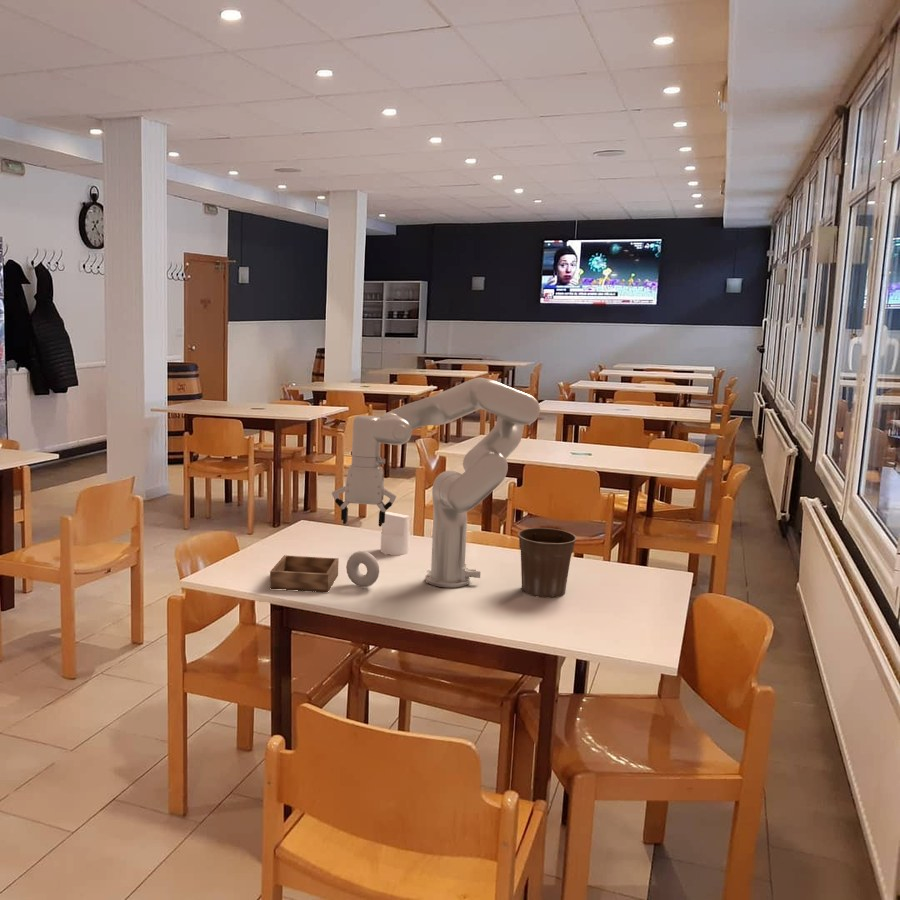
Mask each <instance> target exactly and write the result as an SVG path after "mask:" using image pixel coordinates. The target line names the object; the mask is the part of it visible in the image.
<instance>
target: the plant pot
mask: <svg viewBox="0 0 900 900" xmlns="http://www.w3.org/2000/svg"><path fill="white" fill-rule="evenodd" d="M517 538H518V539H519V543H518V544H519V550H520V568H521V569H520V570H521V572H520V573H521V574H520V577H521V590H522V591H523V592H525V593H526V594H528V595H529V594H530V595H531V596H533V597H536V596H539V597H538V598H545V597H551V598H552V597H556V596H559V597H561V595H562V596H564V595H565V593H566V589H567V584H568V583H567V582H568V575H569V571H570V564H571V559H572V554H573V552H574V547H575V543H576V541H577V539H578V537H577V535H575V534H574V533H572V532H569V531H567V530H562V529H556V528H548V527H530V528H524V529H521V530H519V531H518V532H517Z"/></svg>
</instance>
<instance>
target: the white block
mask: <svg viewBox="0 0 900 900" xmlns="http://www.w3.org/2000/svg"><path fill="white" fill-rule="evenodd" d="M410 519H411V517H410V515H407V514H401V513H396V512H391V511H385V523H382V526H381V532H380V533H381V534H380V552H383V553H386V554H385V555H387V554H391V555H390V556H404V555H407V554H409V553H410ZM408 552H409V553H408ZM383 553H382V554H383Z"/></svg>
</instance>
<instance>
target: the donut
mask: <svg viewBox="0 0 900 900" xmlns="http://www.w3.org/2000/svg"><path fill="white" fill-rule="evenodd" d="M361 564H363V565H364V566H365V568H366V573H365V574H362V573H361V571H360V568H359V566H360V565H361ZM346 575H347V577H348V579H349V580H350V581H351V582H352V583H353V584H354V585H356V586H358V587H360V588H368V587H371V586H372V585H374V584H375V583H376V582H377V580H378V578H379V575H380V565H379V562H378V560H377V559H376V558H375V556H374V555H373V554H371V553H370V552H368V551H366V550H363V551H362V550H358V551H356V552H354V553H352V554H351V555H350V556H349V558H348V559H347V562H346Z"/></svg>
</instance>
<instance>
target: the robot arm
mask: <svg viewBox="0 0 900 900" xmlns="http://www.w3.org/2000/svg"><path fill="white" fill-rule="evenodd" d="M479 410H483V411H486V412H488V413H491V414H493V415H495V416H496V417H497V418H496V422H495V424H494V427H493V428H492V429H491V430H490V431H489V432H488V433H487V435H486V436H484V437H483V438H482V439H481V440H480V441H479V442H478V443H477V444H476V445H475V446H474V447H472V448H470V450H469V451H468V452H467V453H466V454H465V456H464V457H463V461H462V466H463V469H464V472H463V473H460V472H457V471H455V470H446V471H445V470H444V471H442V472H441V473H439V474H438V475H437V476H436V477H435V479H434V480H433V484H432V489H431V490H432V491H431V492H432V496H431V497H432V507H433V510H432V511H433V522H432V525H433V526H432V541H431V542H432V543H431V544H432V545H431V560H430V561H431V563H430V572H429V573H427V574H425V576H424V578H425V579H424V580H425V582H426V584H429V585H431V586H434V587H439V588H450V589H451V588H460V587H465V586H466V585H468V584H470V581H471V580H470V578H474V579H475V578H478V579H480V578H481V570H477V569H476V568H474V569H473V568H472V569H471V568H470V569H469V568H468V567H467V564H466V552H467V551H466V548H467V531H468V530H467V529H468V512H469V511H472V510H473V509H474V508H476V507H477V506H479V504H480V503H482V502H483V501H484V500H485V499H486V498H487V497H488V496H489V495H490V494H492V492H493V491H495V490H496V489H497V488H498V487H499V486H500V485H501V484H502V482H503V481H504V480H505V478H506V476H507V474H508V471H509V469H508V468H509V466H508V464H509V463H508V461H507V458H509V456H510V455H511V454H512V453H513V452H514V451H515V450H516V449H517V447H518V446H519V444H520V443H521V441H522V438H523V435H524V427H525V426H527V425H531V424H533V423H534V422H535V421H537V419H538V418H539V416H540V412H541V406H540V404H539V401H538V400H537V399H536V398H535V397H534V396H533V395H531V394H529V393H525V392H524V391H521V390H518V389H516V388H513V387H511V386H508V385H506V384H504V383H502V382H499V381H497V380H493V379H490V378H486V377H475V378H472V379H469V380H466V381H464V382H461V383H460V384H457V385H455V386H453V387H450V388H448V389H446V390H444V391H442V392H439V393H437V394H433V395H431V396H428V397H424V398H422V399H418V400H416V401H412V402H409V403H405V404H404V405H401V406H399V407H397V408H395V409H392V410H390V411H388V412H385V413H384V414H382V415H381V416H380V417H378V416H374V415H358V416H355V417H354V419H353V422H352V423H353V424H352V442H351V443H352V445H351V447H352V448H351V464H349V466H348V469H347V474H346V478H345V479H346V480H345V485H344V486H341V488H338V489H335V490H333V491H332V492H331V495H332V498H333V499H334V501H335V504H337V506H338V507H339V509H340V510H341V512H340V513H341V514H340V517H341V518H340V519H341V521H342V524H343V525H346V524H347V523H348V518H349V517H348V515H349V508H348V506H349V504H356V505H358V504H359V505H371V506H372V505H373V506H377V507H378V509H379V512H378V527H380V528H382V523H385V512H387V510H388V509H389V508H391V507H392V506H393V503H394V502H395V501H396V499H397V495H396V494H394V493H392V492H391V491H388V490H387V489H385V487H384V486H385V484H384V482H385V481H384V479H385V478H384V468H383V467H382V466H381V465H385V464H386V458H383V457H381V444H385V445H386V444H387V445H393V446H401V445H405V444H406V443H408V442H409V441H410V439H411V437H412V434H413V430H416V429H418V428H423V427H427V426H440V425H446V424H450V423H452V422H454V421H456V420H458V419H460V418H462V417H465V416H468V415H470V414H471V413H472V414H473V413H474V412H477V411H479ZM342 493H344V501H343V500H342V499H341V497H340V496H339V495H340V494H342ZM384 496H385V497H387V498H389V500H388V502H386V503H384V502H383V501H384Z"/></svg>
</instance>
